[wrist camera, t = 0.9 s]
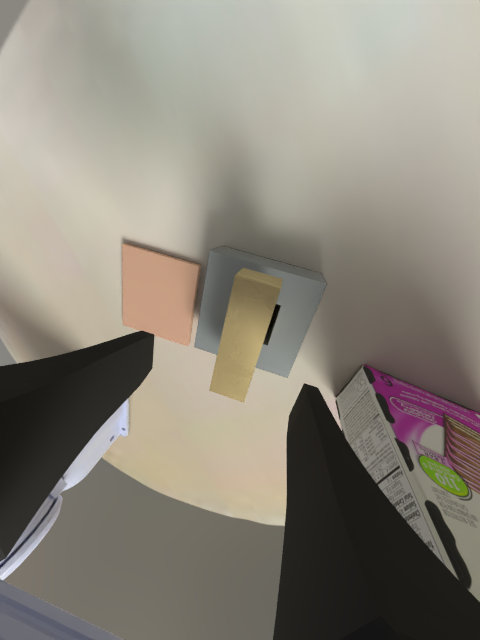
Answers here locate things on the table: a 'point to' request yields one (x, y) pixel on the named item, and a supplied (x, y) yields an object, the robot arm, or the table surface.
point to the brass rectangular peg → (244, 331)
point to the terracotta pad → (159, 293)
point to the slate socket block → (293, 301)
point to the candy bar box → (420, 462)
